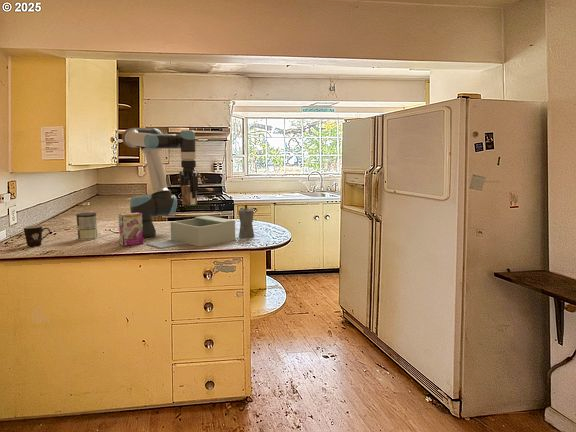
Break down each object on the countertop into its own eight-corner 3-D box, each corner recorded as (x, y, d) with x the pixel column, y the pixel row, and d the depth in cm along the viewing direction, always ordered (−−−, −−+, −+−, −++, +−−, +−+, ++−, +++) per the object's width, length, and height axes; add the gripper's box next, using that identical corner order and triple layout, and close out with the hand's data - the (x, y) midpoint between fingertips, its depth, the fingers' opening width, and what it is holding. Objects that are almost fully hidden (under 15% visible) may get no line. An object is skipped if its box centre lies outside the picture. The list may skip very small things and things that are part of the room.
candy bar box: (123, 246, 246) (121, 215, 244) (119, 245, 250) (117, 214, 248) (144, 243, 254) (142, 213, 251) (140, 242, 258) (138, 212, 255)
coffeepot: (258, 237, 269) (258, 205, 266) (242, 239, 265) (242, 206, 262) (248, 233, 283) (248, 202, 280) (233, 234, 278) (232, 203, 276)
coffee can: (73, 239, 267) (72, 214, 265) (89, 236, 275) (88, 212, 273) (85, 241, 261) (84, 215, 259) (101, 238, 270) (100, 213, 268)
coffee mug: (23, 248, 245) (21, 228, 244) (27, 244, 253) (25, 225, 252) (48, 246, 248) (46, 227, 247) (51, 243, 256) (49, 224, 255)
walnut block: (182, 204, 256) (181, 185, 254) (191, 203, 260) (190, 184, 259) (187, 205, 253) (187, 186, 251) (197, 204, 257) (196, 185, 255)
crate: (171, 239, 264) (170, 220, 263) (206, 233, 281) (206, 215, 280) (199, 246, 246) (198, 225, 245) (235, 239, 263) (234, 220, 262)
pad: (146, 244, 251) (146, 243, 251) (169, 240, 261) (169, 239, 261) (160, 248, 242) (160, 247, 242) (184, 244, 252) (184, 243, 252)
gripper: (204, 160, 249) (205, 204, 253) (184, 159, 261) (185, 201, 265) (193, 160, 244) (194, 206, 248) (172, 159, 256) (173, 203, 260)
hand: (189, 203), depth 256 cm, fingers closed on walnut block, 5 cm apart
